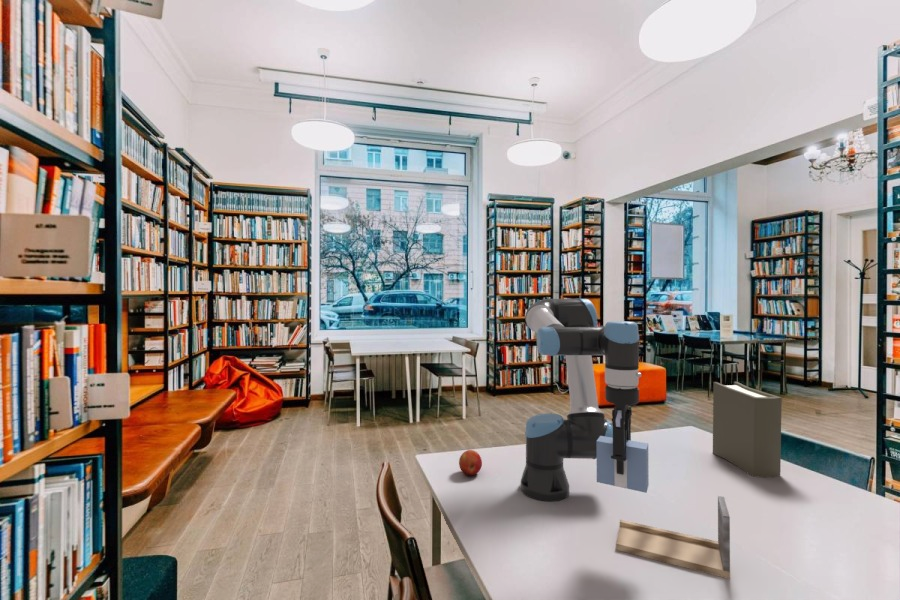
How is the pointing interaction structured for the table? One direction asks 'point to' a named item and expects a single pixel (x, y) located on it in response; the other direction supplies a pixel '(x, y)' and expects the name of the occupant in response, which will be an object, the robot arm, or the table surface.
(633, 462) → the slim book
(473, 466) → the apple
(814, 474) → the table surface
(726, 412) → the book
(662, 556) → the shelf
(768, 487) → the table surface
